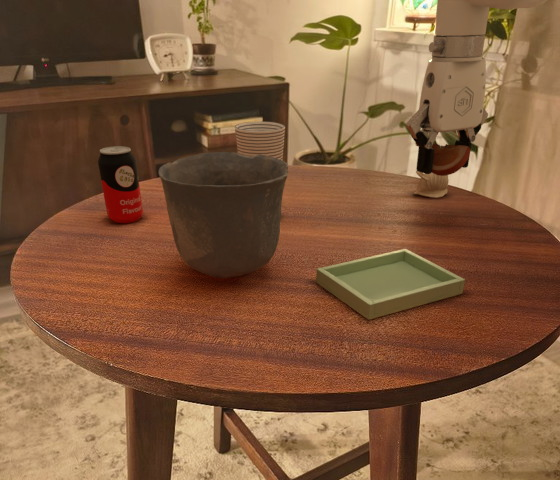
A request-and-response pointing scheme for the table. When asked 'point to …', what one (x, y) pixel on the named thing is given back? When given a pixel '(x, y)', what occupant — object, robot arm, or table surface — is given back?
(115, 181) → the beverage can
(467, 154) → the fruit slice
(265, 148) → the cup
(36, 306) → the table surface
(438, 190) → the decorative ornament
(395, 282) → the serving tray
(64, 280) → the table surface
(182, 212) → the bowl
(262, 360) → the table surface
